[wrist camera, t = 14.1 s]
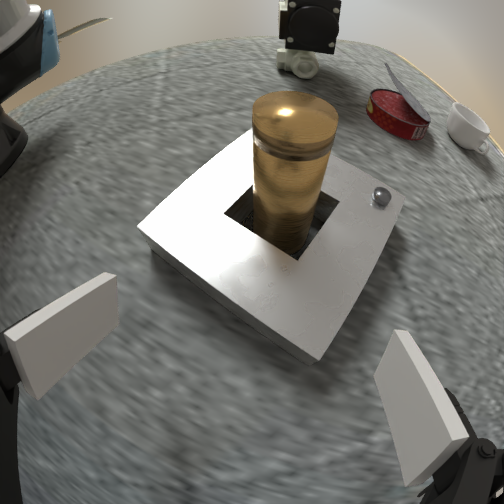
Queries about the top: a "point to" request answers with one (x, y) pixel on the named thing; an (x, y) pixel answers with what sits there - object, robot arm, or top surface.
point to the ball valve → (306, 34)
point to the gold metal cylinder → (289, 164)
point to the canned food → (398, 111)
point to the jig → (275, 248)
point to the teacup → (467, 128)
